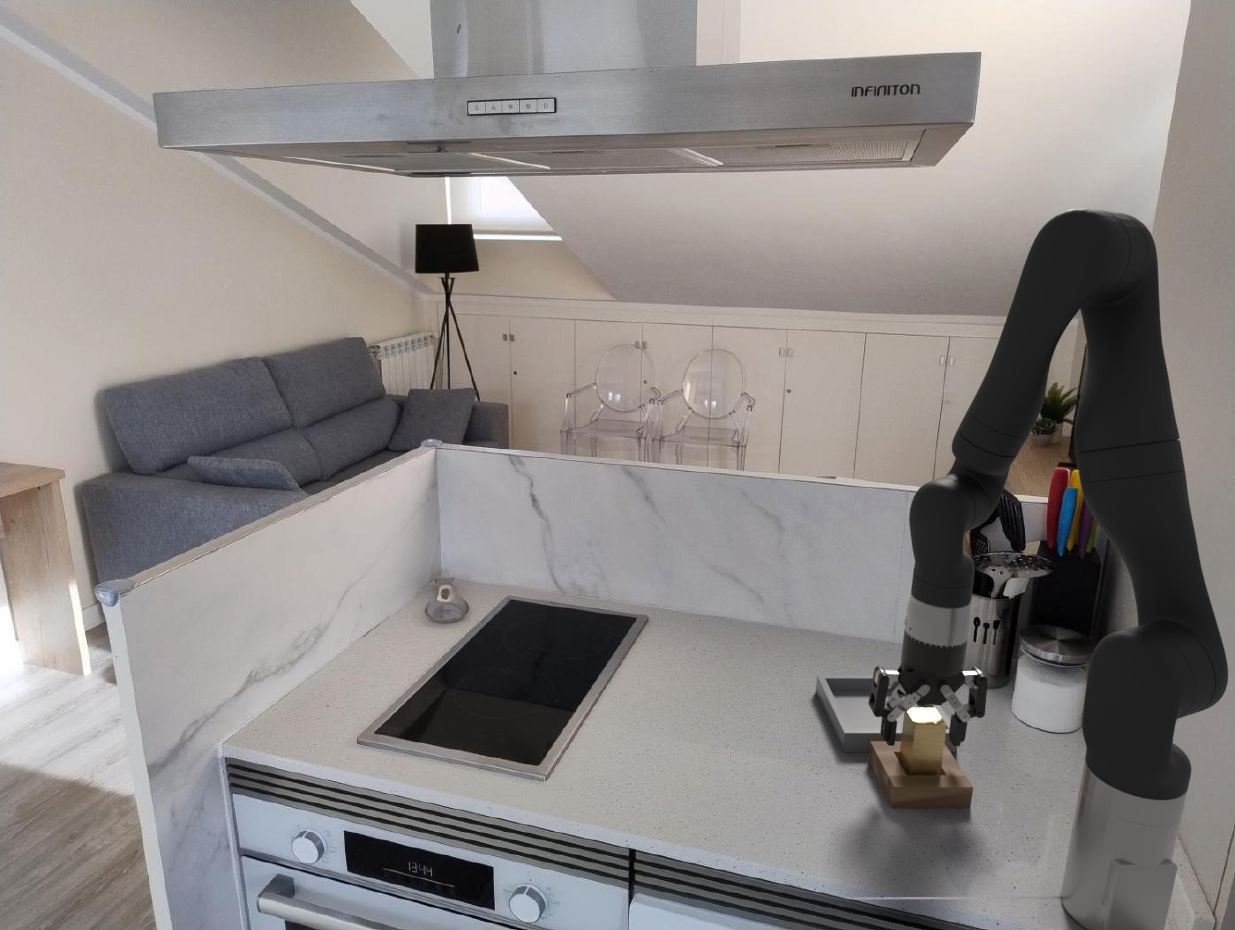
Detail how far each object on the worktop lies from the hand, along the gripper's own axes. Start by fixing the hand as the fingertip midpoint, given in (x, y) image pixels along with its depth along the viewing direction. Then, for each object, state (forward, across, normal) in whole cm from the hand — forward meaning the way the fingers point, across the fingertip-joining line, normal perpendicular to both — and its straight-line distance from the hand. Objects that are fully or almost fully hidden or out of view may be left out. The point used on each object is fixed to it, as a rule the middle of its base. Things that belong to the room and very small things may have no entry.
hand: (921, 742), depth 114 cm
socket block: (+6, 0, 0) cm, 6 cm away
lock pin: (+6, 0, 0) cm, 6 cm away
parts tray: (+6, 0, +15) cm, 16 cm away
